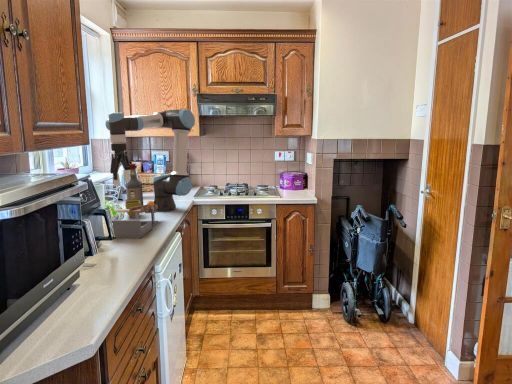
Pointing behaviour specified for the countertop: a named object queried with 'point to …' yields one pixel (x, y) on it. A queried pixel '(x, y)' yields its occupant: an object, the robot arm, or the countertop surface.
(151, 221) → the stand
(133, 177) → the liquor
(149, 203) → the ball
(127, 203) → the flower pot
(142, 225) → the bin
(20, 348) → the countertop surface
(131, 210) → the wooden chute
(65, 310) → the countertop surface
